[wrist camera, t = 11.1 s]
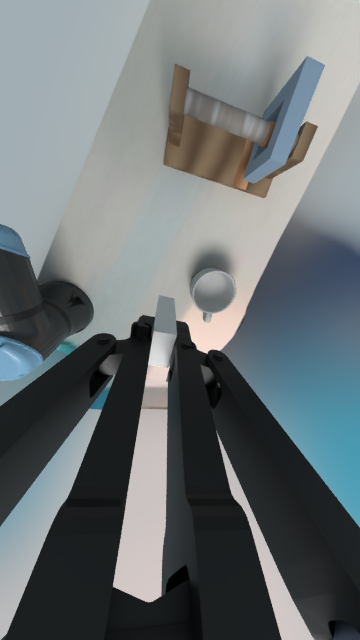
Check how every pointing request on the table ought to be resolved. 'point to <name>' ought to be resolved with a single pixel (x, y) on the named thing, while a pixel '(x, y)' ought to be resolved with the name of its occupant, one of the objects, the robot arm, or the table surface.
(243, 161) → the wooden rod stand
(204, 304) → the teacup
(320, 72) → the ring
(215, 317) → the table surface
